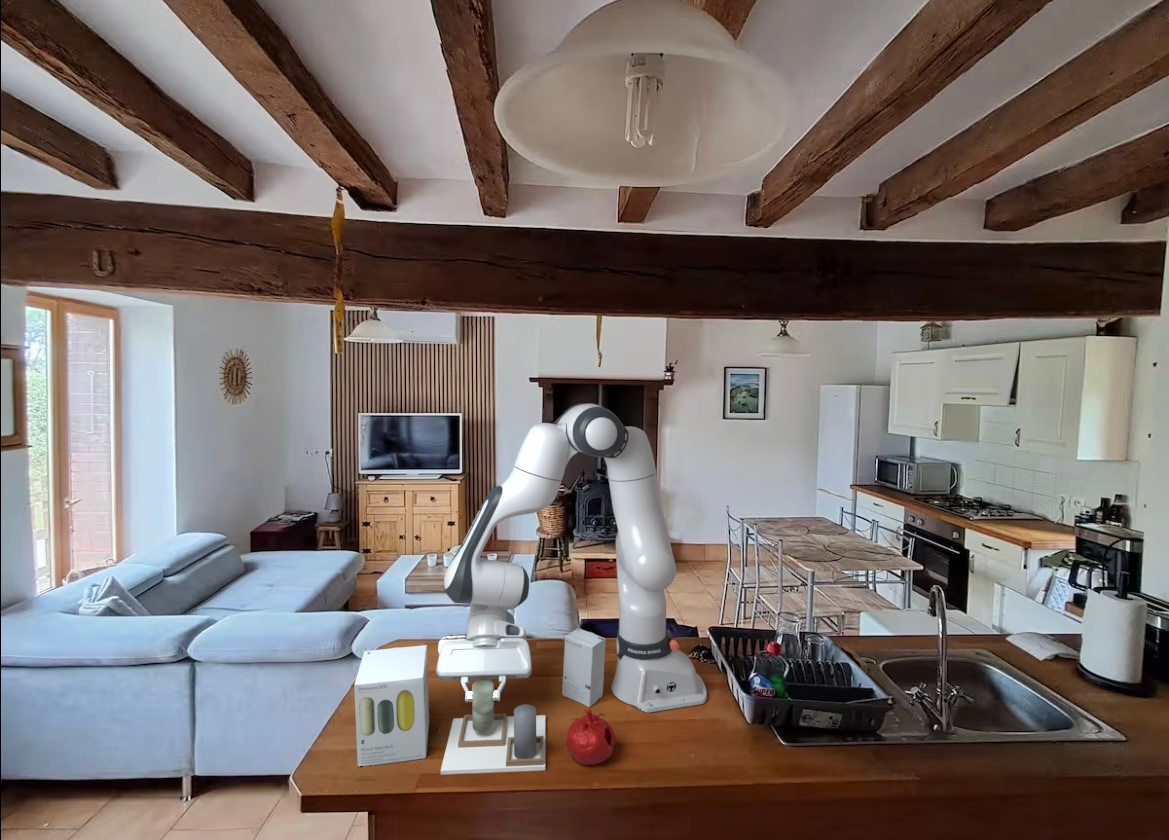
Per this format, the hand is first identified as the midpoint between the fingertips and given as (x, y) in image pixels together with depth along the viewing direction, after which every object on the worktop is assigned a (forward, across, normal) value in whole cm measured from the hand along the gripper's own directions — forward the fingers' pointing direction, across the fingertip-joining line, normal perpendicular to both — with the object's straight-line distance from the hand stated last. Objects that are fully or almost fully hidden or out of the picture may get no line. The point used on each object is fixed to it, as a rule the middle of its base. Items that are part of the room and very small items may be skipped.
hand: (482, 701), depth 122 cm
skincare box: (-4, +22, +16) cm, 27 cm away
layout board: (+8, +3, +4) cm, 9 cm away
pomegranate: (+10, +22, +2) cm, 24 cm away
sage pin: (+4, 0, +5) cm, 6 cm away
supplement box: (+6, -18, +6) cm, 20 cm away
